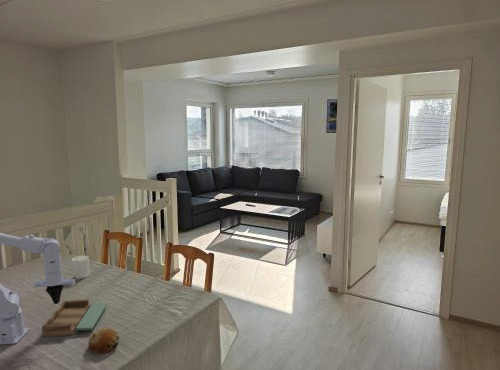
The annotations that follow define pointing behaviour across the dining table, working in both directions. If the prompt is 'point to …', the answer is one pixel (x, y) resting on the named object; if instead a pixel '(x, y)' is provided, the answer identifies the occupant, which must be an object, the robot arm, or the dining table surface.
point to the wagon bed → (66, 318)
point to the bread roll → (103, 341)
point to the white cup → (81, 266)
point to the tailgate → (91, 316)
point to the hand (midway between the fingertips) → (56, 302)
